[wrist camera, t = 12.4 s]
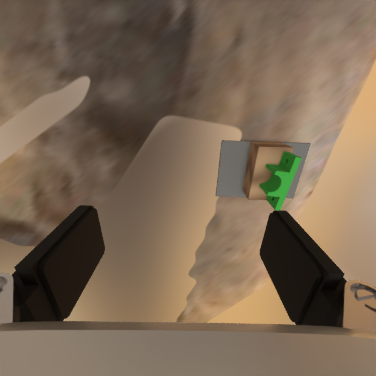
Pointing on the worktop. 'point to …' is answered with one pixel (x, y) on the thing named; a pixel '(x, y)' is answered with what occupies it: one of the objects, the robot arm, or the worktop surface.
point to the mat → (237, 161)
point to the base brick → (261, 166)
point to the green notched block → (280, 179)
